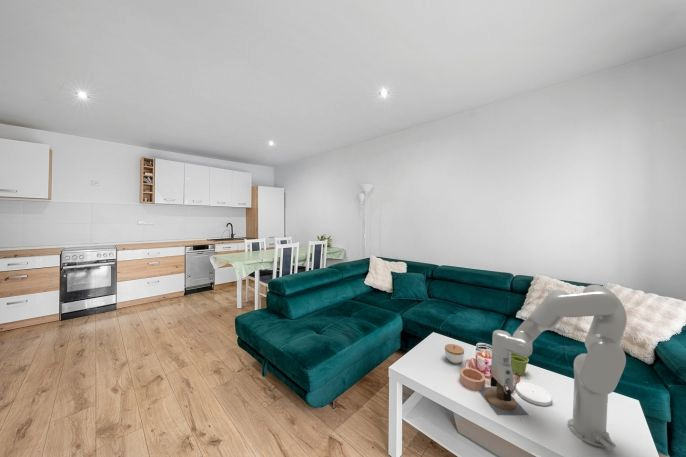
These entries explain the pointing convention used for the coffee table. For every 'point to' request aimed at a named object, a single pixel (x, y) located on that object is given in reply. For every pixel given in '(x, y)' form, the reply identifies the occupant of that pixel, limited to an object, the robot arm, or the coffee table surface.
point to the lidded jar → (454, 353)
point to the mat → (498, 411)
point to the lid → (499, 398)
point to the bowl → (472, 379)
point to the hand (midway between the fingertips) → (500, 393)
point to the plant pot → (518, 363)
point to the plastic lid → (534, 394)
